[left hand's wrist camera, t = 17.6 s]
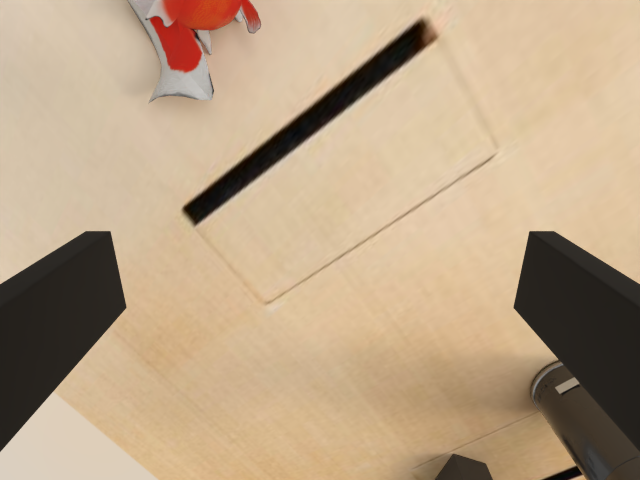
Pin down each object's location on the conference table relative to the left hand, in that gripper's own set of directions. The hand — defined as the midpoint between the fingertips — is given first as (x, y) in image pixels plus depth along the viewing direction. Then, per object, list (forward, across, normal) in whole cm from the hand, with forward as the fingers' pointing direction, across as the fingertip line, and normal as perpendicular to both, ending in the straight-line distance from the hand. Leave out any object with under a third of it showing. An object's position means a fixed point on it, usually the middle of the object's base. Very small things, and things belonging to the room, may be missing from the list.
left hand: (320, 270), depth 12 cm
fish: (+31, -11, +10) cm, 34 cm away
